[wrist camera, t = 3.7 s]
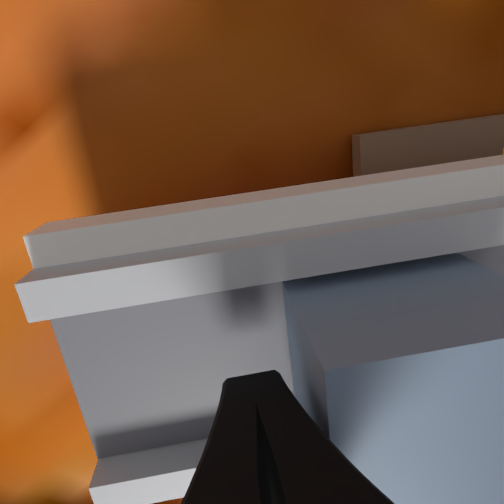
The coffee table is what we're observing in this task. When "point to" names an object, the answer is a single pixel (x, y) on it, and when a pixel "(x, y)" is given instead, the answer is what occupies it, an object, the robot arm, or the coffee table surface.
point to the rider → (406, 374)
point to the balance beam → (239, 286)
